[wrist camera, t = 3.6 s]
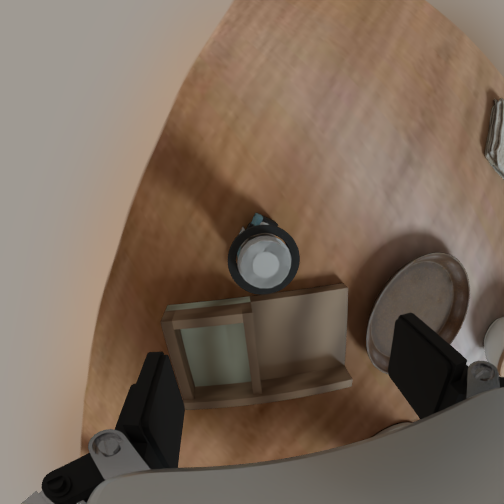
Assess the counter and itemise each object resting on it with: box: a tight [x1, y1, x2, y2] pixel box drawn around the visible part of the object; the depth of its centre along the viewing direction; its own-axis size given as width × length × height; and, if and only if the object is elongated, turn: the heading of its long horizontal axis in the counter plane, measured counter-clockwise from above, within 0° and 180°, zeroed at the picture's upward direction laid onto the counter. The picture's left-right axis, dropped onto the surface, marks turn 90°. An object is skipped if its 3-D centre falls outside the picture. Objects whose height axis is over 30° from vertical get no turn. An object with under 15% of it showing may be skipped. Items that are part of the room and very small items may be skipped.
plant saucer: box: [366, 253, 470, 374], centre depth 34 cm, size 18×18×3 cm
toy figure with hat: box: [228, 213, 300, 295], centre depth 26 cm, size 7×5×10 cm
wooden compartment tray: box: [161, 283, 352, 410], centre depth 32 cm, size 20×12×4 cm, turn 96°
